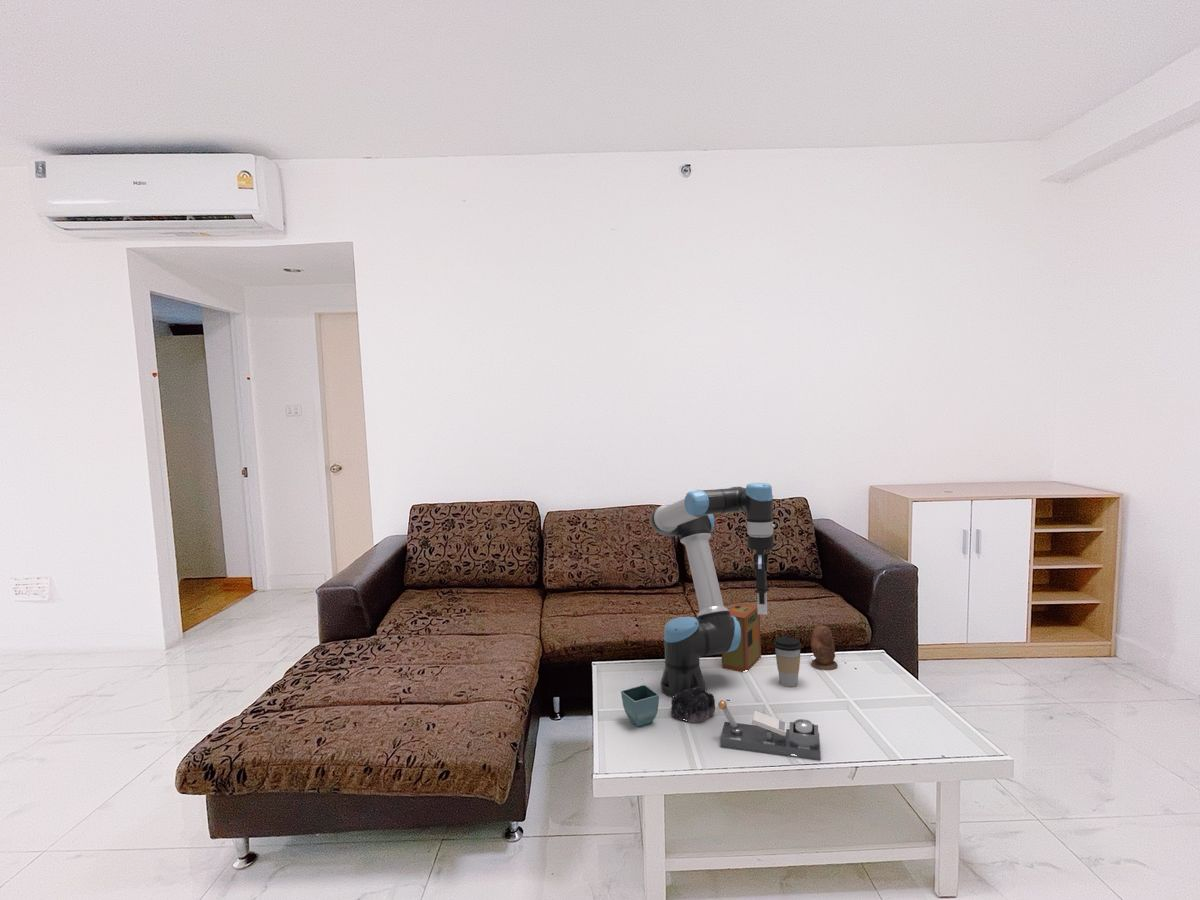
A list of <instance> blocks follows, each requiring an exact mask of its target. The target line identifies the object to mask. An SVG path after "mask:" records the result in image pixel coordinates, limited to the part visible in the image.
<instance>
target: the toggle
mask: <svg viewBox="0 0 1200 900" xmlns="http://www.w3.org/2000/svg"><path fill="white" fill-rule="evenodd" d="M717 706H718V708H719V709H720V710H722V712H723V714H724V715H725V716H724V717H726V719H727V722H730V724H731V726H732V728H734V727H736V726H737V724H736V723H737V722H736V720H735V718H734V717H733V715H732V714H731V712H730V709H728V705H727V702H726V701H725V700H723V699H722V700H719V701H718V704H717Z"/></svg>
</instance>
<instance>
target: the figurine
mask: <svg viewBox="0 0 1200 900" xmlns="http://www.w3.org/2000/svg"><path fill="white" fill-rule="evenodd" d="M810 647H811V648H810V649H811V652H812V654H813V657H815V658H814V659H812V660H811V663H810V665H811V667H813V668H815V669H818V670H822V669H826V670H825V671H833V670H835V669H838V663H837V662H836V661H835V657H836V654H835V653H836V649H835V648H836V647H835V641H834V637H833V634H832V631H831V629H830V627H828V626H827V625H822V624H821V625H817V626H815V627H814V628H813V630H812V634H811V638H810ZM819 668H820V669H819Z"/></svg>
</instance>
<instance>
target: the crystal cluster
mask: <svg viewBox="0 0 1200 900" xmlns="http://www.w3.org/2000/svg"><path fill="white" fill-rule="evenodd" d="M670 708H671V713H670V714H671V716H672V717H675V718H676V719H677V720H680V721H682V720H683V719H685V720H687V721H688V723H690V724H697V723H701V722H704V721H705V720H707V719H709V718H711V717H712V716H714V714H715V711H716V701H715V696H714V695H713V694H712V693H708V692H707V690H704V689H703V688H701V687H700V686H695V687H694V688H690V689H687V690H684V691H682V692H680V693H678V694H677V695H675V696H674V697H672V698H671V707H670Z"/></svg>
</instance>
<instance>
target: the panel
mask: <svg viewBox="0 0 1200 900" xmlns="http://www.w3.org/2000/svg"><path fill="white" fill-rule="evenodd" d="M723 722H724V723H723V727H722V731H721V733H720V736H719V737H720V738H719V741H720V742H719V744H720V745H719V746H720V748H726V749H734V750H742V751H747V752H748V751H749V752H756V753H764V754H770V755H771V754H772V755H779V756H786V757H788V756H787V755H791V754H795V755H797V756H799V757H798V758H800V757H801V758H802V759H809V760H814V761H815V760H816V761H821V744H820V743H821V742H820V740H821V739H820V732H819V726H818V724H814V723H812V735H809V734H801V733H795V721H790V722H789V728H786V735H785V736H783V735H780V734H777V733H775V732H772V731H770V730H767V729H765V728H762V727H759V726H757V725H754V724H748V723H741V722H739V723H738V722H736V724H737V726H736V727H734V728H732V726H731V724H730V722H729V721H723Z"/></svg>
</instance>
